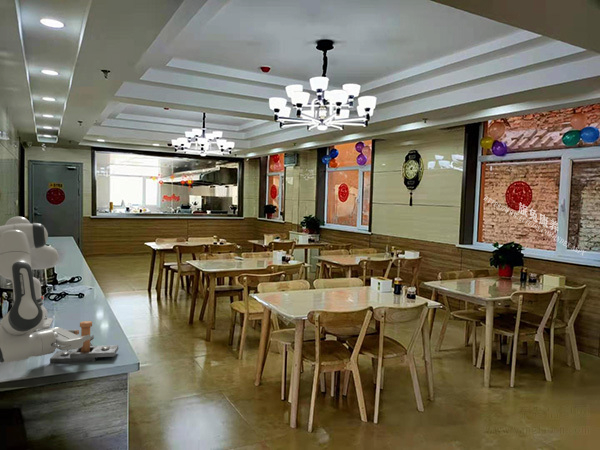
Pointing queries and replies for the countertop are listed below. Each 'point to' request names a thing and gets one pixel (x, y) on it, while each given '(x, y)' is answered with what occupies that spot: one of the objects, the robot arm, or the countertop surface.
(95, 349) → the grey latch
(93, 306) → the countertop surface
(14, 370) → the countertop surface
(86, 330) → the pin
